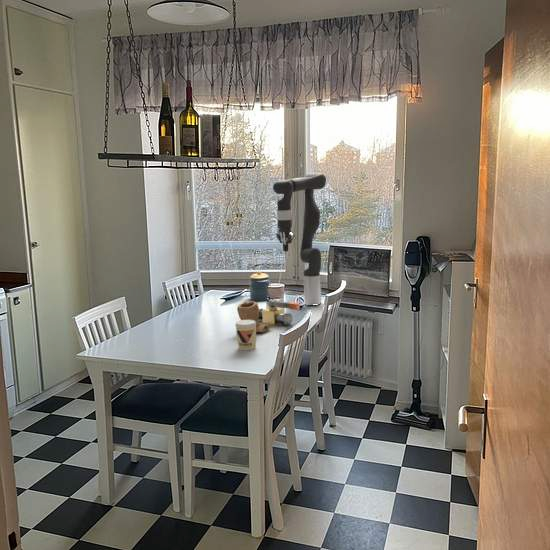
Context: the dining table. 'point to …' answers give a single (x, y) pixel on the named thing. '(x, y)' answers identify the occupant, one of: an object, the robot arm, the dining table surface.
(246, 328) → the coffee cup
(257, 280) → the canister
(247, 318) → the stone cup
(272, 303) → the lever
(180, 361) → the dining table surface
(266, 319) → the valve pipe
